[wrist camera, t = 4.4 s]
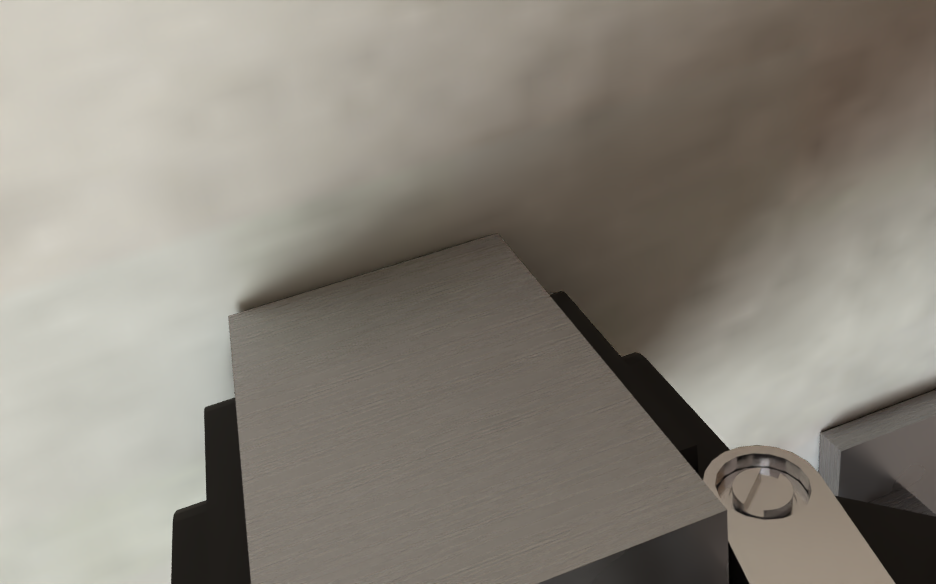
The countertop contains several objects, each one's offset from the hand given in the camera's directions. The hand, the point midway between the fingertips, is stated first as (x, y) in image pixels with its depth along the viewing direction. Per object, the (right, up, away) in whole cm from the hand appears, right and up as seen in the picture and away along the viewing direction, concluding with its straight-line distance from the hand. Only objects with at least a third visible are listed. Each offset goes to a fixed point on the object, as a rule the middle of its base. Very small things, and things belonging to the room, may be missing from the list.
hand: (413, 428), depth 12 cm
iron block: (0, 0, +1) cm, 1 cm away
